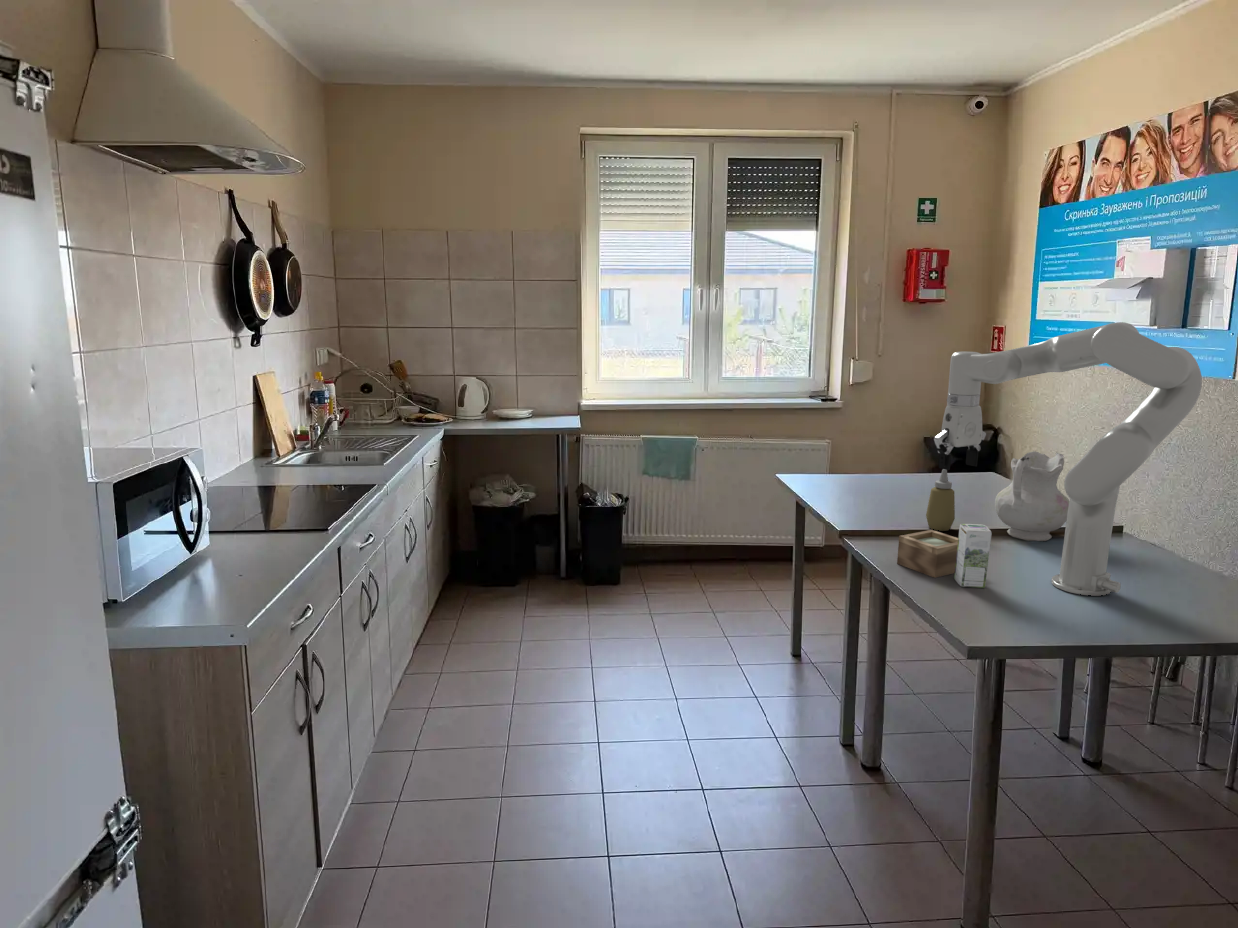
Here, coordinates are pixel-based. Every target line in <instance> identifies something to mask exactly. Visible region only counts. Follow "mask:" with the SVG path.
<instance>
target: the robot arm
mask: <svg viewBox="0 0 1238 928" xmlns="http://www.w3.org/2000/svg"><path fill="white" fill-rule="evenodd" d="M1103 364H1106V365H1107V364H1108V366H1111V368H1114V369H1115V370H1118V371H1120V372H1122V373H1124V374H1126V375H1128V376H1130V377H1131V378H1134V379H1136V380H1138V381H1140V382H1142V383H1144V384H1145V385H1147V386H1150V387H1153V390H1151V392H1150V394H1148V395H1147V396H1146V398H1145V399H1144V400H1143V401H1141V403H1140V404H1139V405H1138V406H1137V407H1136V408H1135V409H1134V410H1133V412H1131V413H1130V414H1129V415H1128V416H1127V417H1126V418H1125V419H1123V421H1122V422H1121V423H1120V424H1118V425H1116V426H1115V427H1113V428H1112V429H1110V430H1108V432H1106V433H1105V434H1104V435H1103V436H1102V437H1101V438H1100V439H1099V440H1098V441H1097V442H1096V443H1095V444H1094V445H1093V446H1092V447H1091V448H1090V449H1089V450H1088V451H1087V452H1086V454H1085V455H1084V456H1082V457H1081V459H1080V460H1078V462H1076V464H1075V465H1074V466H1073V467H1072V468H1071V469H1070V470H1069V471H1068V473H1067V474H1066V475H1065V479H1064V482H1063V484H1064V485H1063V487H1064V492H1065V493H1066V495H1067V498H1068V499H1069V507H1068V513H1067V521H1066V522H1065V528H1064V529H1065V530H1064V538H1063V546H1062V551H1061V552H1062V554H1061V559H1060V570H1059V573H1058V574H1055V575H1053V576H1051V580H1050V582H1051V584H1052V585H1053V586H1054V587H1055V588H1057V589H1059V590H1062V591H1064V592H1067V593H1070V594H1071V593H1072V594H1075V595H1080V594H1081V595H1082V596H1088V595H1091V596H1090V597H1100V596H1101V595H1103V596H1107V595H1109V594H1111V593H1112V592H1113V593H1116V594H1117V593H1119V592H1120V590H1121V586H1122V585H1121V582H1119V581H1116V580H1112V579H1111V575H1112V574H1111V572H1107V570H1108V569H1107V568H1108V561H1109V553H1110V548H1111V540H1112V532H1113V526H1114V519H1115V513H1116V507H1117V501H1118V497H1119V493H1120V489H1121V488H1120V487H1121V486H1122V484H1123V483H1124V482H1125V481H1127V479H1129V478H1130V477H1131V476H1132V475H1133V474H1134V473H1135V472H1136V471H1137V470H1138V469H1139V468H1140V467H1141V466H1142V465H1143V464H1144V463H1145V462H1146V461H1147V460H1148V459H1149V458H1150V456H1151V455H1152V454H1153V453H1154V451H1155V450H1156V448H1157V447H1158V446H1160V445H1161V443H1162V442H1163V441H1164V440H1165V439H1166V438H1167V437H1168V436H1169V435H1170V434H1171V433H1172V432H1173V431H1174V430H1175V429H1176V428H1177V426H1179V425H1180V424H1181V423H1182V421H1184V419H1185V418H1186V417H1187V416H1188V415H1189V414H1190V412H1191V411H1192V410H1193V409H1194V407H1195V405H1196V404H1197V401H1198V399H1199V398H1200V395H1201V392H1202V384H1203V378H1202V372H1201V369H1200V365H1199V364H1198V361H1197V360H1196V358H1195V357H1194V355H1193V354H1192V353H1191V352H1189V351H1188V350H1187V349H1185V348H1182V347H1178V346H1166V345H1164V344H1162V343H1160V342H1158V341H1155V340H1153V339H1151V338H1149V337H1147V336H1145V335H1143V334H1141V333H1140V331H1139V330H1138V329H1137V328H1136V327H1135V326H1134V325H1133V324H1131V323H1128V322H1123V321H1122V322H1121V321H1120V322H1119V321H1118V322H1111V323H1107V324H1105V325H1099V326H1096V327H1091V328H1087V329H1082V330H1078V331H1074V332H1070V333H1066V334H1062V335H1061V334H1060V335H1057V336H1054V337H1051V338H1049V339H1047V340H1045V341H1041V342H1038V343H1034V344H1029V345H1025V346H1020V347H1018V348H1011V349H1007V350H1002V351H996V352H991V353H980V352H977V351H956V352H953V353H952V355H951V356H950V363H949V376H948V389H947V398H946V407H945V408H944V413H943V418H942V424H941V432H940V433H938V434H937V435H935V436H934V437H933V441H934V445H935V448H936V449H937V453H938V454H939V456H938V457H939V459H938V468H939V469H940V470H943V469H945V470H947V471H949V470H950V469H951V464H952V463H951V461H952V454H951V452H952V450H953V449H954V447H955V448H963V447H968V449H966V454H965V455H966V456H965V465H967V466H971V467H978V461H979V452H980V451H981V450H982V449H981V447H982V446H983V444H984V440H985V438H986V436H987V432H986V431H983V413H982V412H983V411H982V406H980V398H981V390H982V389H981V388H982V383H986V384H990V385H991V384H993V385H998V384H1003V383H1006V382H1009V381H1013V380H1017V379H1021V378H1022V379H1023V378H1026V377H1030V376H1037V375H1040V374H1047V373H1064V372H1070V371H1074V370H1075V371H1076V370H1079V369H1084V368H1089V367H1094V366H1099V365H1103ZM1110 592H1111V593H1110ZM1106 594H1107V595H1106ZM1081 595H1080V596H1081ZM1101 597H1102V596H1101Z"/></svg>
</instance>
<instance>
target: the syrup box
mask: <svg viewBox="0 0 1238 928" xmlns="http://www.w3.org/2000/svg"><path fill="white" fill-rule="evenodd" d="M957 538H958V547H957V556H956V566H955V573H954V574H953V575H954V576H953V579H954V581H955V582H956V583H957V584H958V585H959V586H960V587H961V588H975V589H976V588H977V589H978V588H980V589H985V588H986V585H987V582H986V581H987V574H988V567H989V559H990V557H989V556H990V550H991V544H992V543H991V542H992V531H991V529H990V528H989V527H988V526H987V525H985V524H980V523H979V524H975V523H973V524H972V523H960V524H959V529H958V537H957Z"/></svg>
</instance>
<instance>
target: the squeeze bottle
mask: <svg viewBox="0 0 1238 928" xmlns="http://www.w3.org/2000/svg"><path fill="white" fill-rule="evenodd" d="M952 485H953V482H951V481H950V480H949V476H948V470H945V469H941V473H940V476H939V479H937V480H935V482H934V487H932V488H931V489H930V492H929V498H928V503H927V507H926V508H927V509H926V514H925V517H926V518H925V519H926V521H927V525H928V529H930V528H931V529H930V530H933V529H934V531H938V530H939V531H938V532H945V531H946V532H947V531H950V530H951V528H952V526H953V523H954V521H955V518H956V515H955V513H956V511H955V509H956V508H955V507H956V505H955V502H956V501H955V490H954V489H952ZM949 529H950V530H949Z"/></svg>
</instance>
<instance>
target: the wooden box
mask: <svg viewBox="0 0 1238 928" xmlns="http://www.w3.org/2000/svg"><path fill="white" fill-rule="evenodd" d="M957 547H958V537H956V536H952V535H949V534H947V533H943V532H941V531H938V530H933V529H928V530H923V531H918V532H913V533H912V532H911V533H908V534H907V533H906V534H904V535H903V534H902V535H899V536H898V548H897V558H896V559H897V560H896V564H897V565H900V566H902V567H905V568H908V569H910V570H912V571H916V572H918V573H921V574H924V575H926V576H928V577H931V578H940V577H944V576H948V575H952V574H953V575H954V574H955V566H956V556H957Z"/></svg>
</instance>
